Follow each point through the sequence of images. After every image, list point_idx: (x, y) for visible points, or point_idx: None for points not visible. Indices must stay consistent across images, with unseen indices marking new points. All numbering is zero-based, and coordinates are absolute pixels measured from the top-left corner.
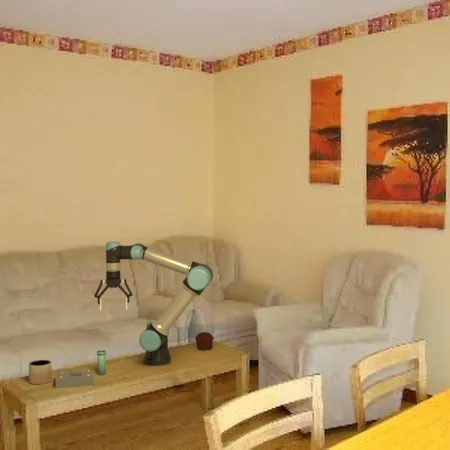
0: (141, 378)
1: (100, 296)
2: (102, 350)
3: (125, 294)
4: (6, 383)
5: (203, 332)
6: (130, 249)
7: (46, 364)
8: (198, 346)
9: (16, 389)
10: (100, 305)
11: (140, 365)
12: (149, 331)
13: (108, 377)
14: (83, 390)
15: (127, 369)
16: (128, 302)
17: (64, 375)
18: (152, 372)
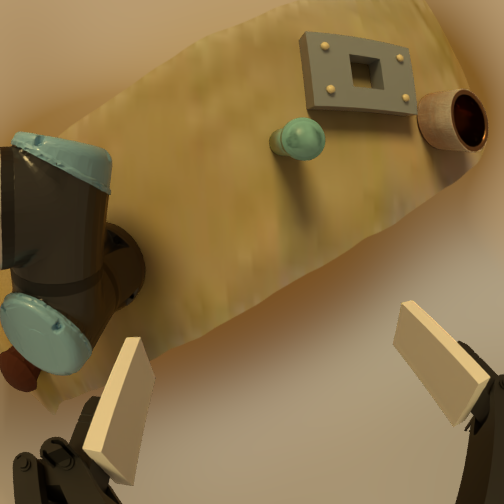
0: (145, 82)
1: (499, 399)
2: (300, 156)
3: (97, 496)
4: None
5: (14, 384)
6: None
7: (456, 93)
8: None
9: (464, 83)
10: (439, 330)
11: (152, 230)
12: (31, 135)
13: (256, 102)
14: (321, 9)
15: (193, 186)
16: (95, 401)
17: (394, 75)
18: (109, 145)
